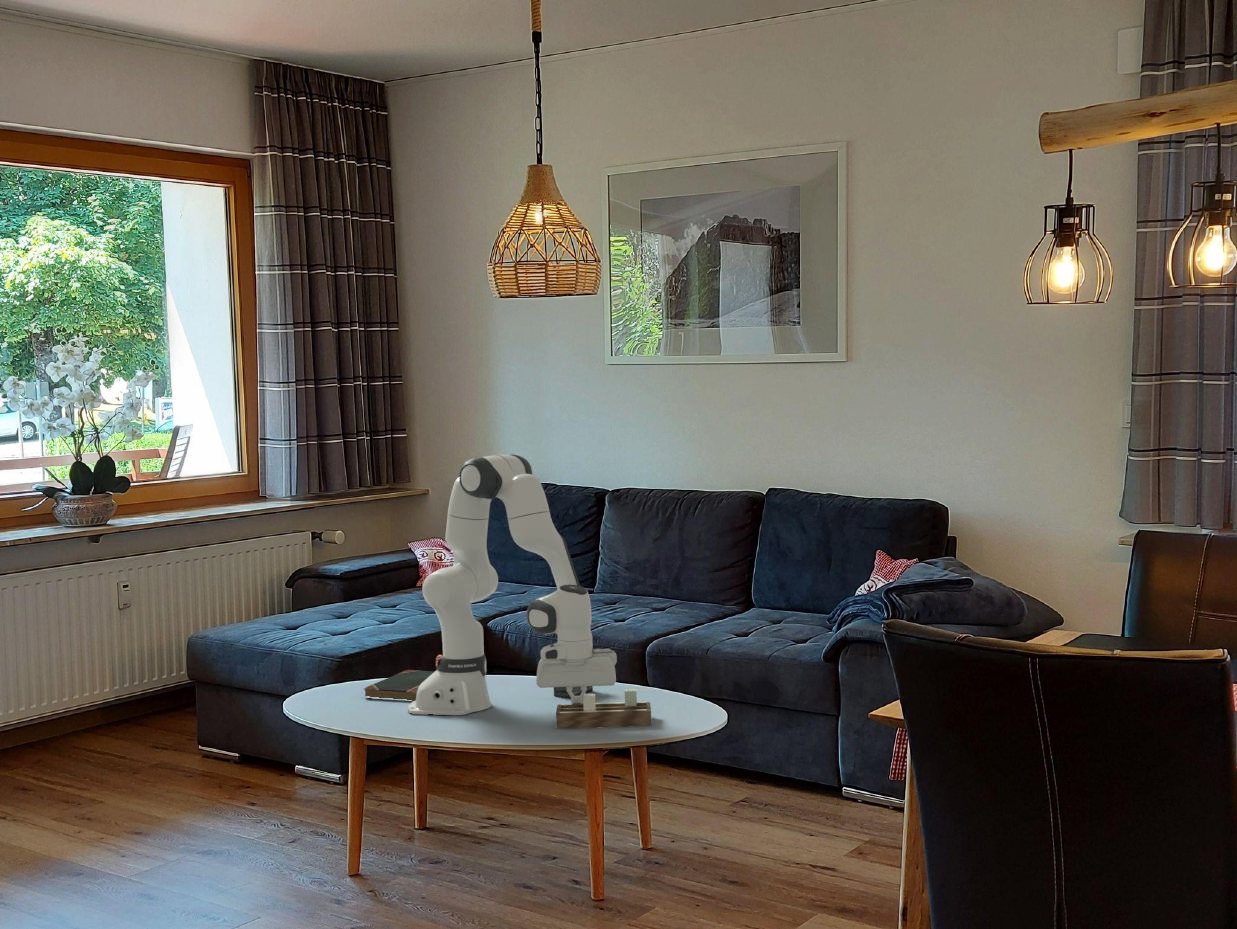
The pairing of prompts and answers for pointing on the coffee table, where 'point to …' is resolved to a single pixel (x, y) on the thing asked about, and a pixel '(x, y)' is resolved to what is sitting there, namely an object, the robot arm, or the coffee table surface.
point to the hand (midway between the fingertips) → (577, 703)
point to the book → (399, 685)
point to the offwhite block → (589, 702)
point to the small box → (575, 690)
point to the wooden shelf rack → (603, 715)
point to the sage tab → (630, 697)
